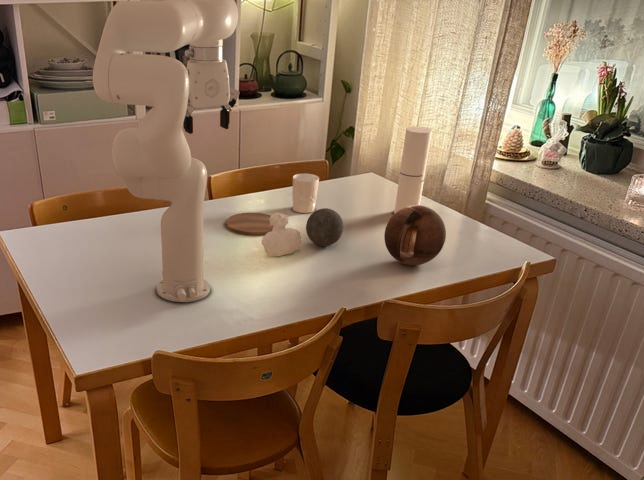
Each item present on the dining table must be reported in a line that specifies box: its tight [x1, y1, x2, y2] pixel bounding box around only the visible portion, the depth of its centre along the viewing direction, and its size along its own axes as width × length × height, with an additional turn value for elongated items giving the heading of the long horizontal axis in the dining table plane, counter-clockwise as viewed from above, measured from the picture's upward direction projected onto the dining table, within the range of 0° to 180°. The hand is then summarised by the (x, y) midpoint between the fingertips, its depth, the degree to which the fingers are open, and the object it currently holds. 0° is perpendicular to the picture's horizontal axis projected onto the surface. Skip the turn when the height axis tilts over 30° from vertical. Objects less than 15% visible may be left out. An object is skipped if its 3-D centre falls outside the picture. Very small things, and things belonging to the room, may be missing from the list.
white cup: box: [291, 173, 320, 214], centre depth 211 cm, size 8×8×10 cm
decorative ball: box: [305, 207, 344, 247], centre depth 188 cm, size 10×10×10 cm
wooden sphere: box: [383, 204, 447, 266], centre depth 176 cm, size 15×15×15 cm
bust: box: [260, 212, 302, 257], centre depth 184 cm, size 12×8×11 cm
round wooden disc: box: [225, 212, 274, 237], centre depth 202 cm, size 16×16×1 cm
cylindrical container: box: [393, 126, 433, 215], centre depth 205 cm, size 7×7×25 cm
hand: (206, 130), depth 169 cm, fingers open, 9 cm apart
